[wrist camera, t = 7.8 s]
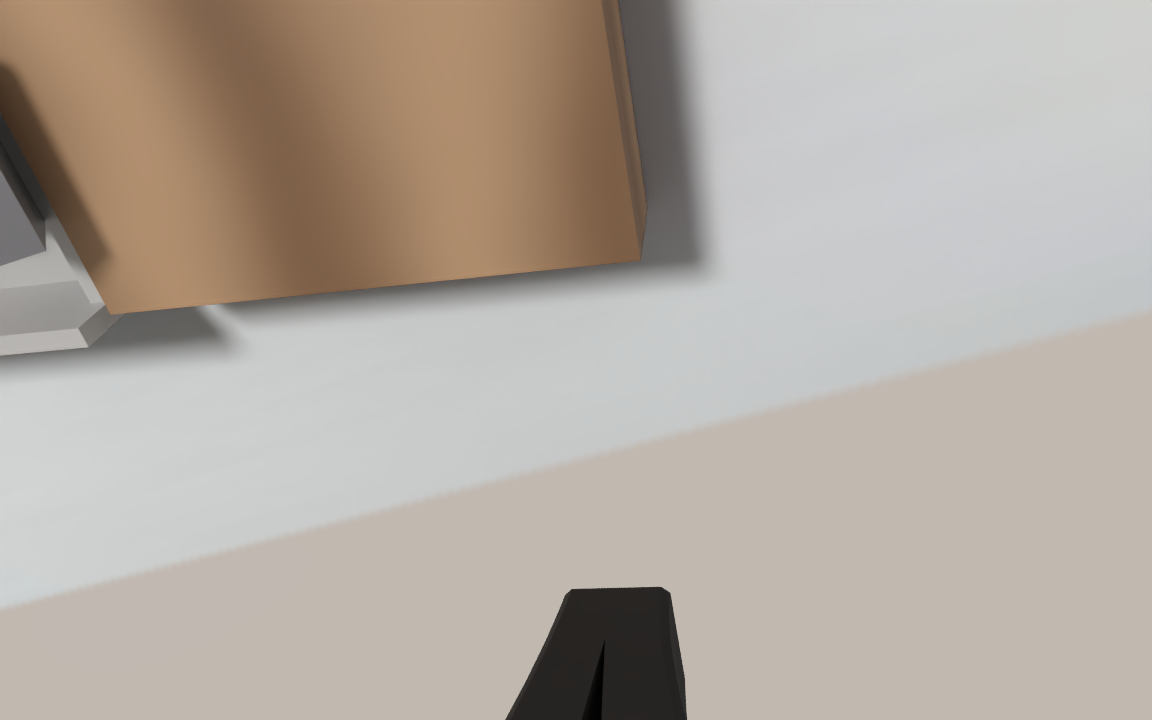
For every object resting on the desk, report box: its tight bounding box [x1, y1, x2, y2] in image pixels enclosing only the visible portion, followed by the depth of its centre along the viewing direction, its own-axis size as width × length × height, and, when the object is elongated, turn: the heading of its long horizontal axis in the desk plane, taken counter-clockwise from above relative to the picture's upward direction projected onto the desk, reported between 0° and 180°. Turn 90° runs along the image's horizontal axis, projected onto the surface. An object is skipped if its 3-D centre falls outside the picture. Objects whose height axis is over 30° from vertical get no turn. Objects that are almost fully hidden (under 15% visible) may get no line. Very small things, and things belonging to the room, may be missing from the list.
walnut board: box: [0, 0, 647, 315], centre depth 17 cm, size 12×8×2 cm, turn 101°
